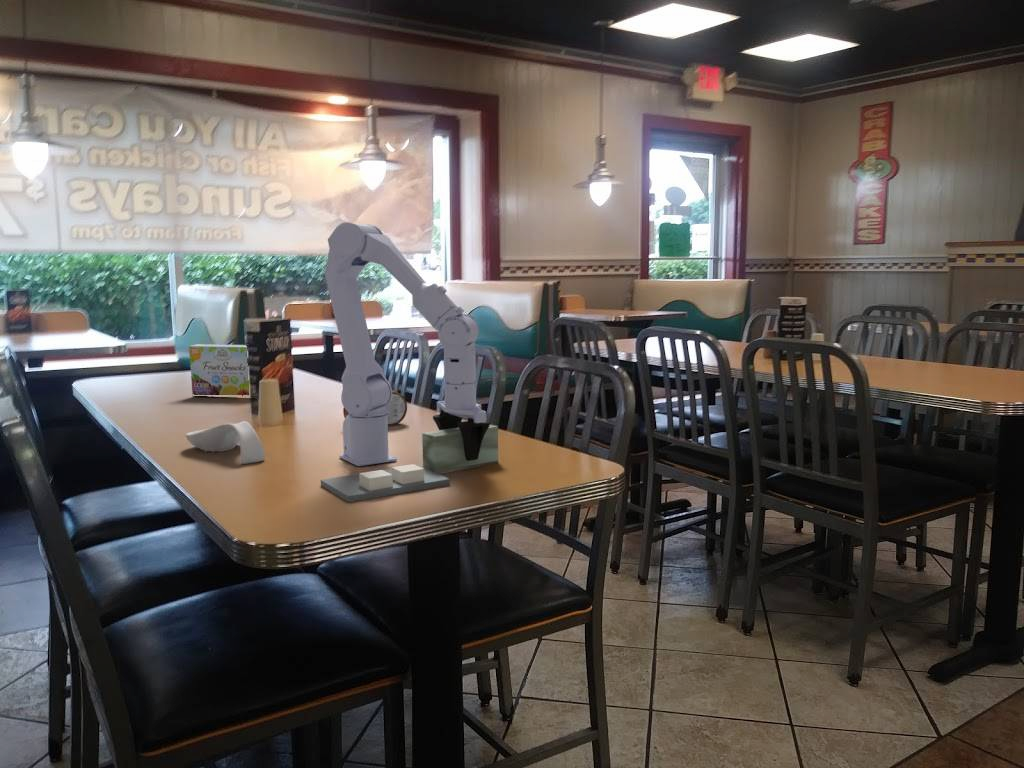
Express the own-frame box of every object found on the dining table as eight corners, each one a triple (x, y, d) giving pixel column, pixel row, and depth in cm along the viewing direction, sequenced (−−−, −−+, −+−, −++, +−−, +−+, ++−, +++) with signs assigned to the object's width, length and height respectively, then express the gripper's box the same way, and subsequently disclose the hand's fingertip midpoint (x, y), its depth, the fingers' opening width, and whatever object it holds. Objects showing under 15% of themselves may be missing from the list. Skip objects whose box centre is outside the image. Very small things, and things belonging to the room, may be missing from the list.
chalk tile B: (392, 479, 134) (391, 467, 133) (413, 475, 136) (413, 464, 135) (402, 484, 130) (402, 472, 130) (424, 480, 132) (424, 468, 132)
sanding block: (423, 471, 143) (422, 433, 142) (485, 459, 152) (485, 423, 151) (435, 475, 140) (434, 436, 139) (498, 463, 149) (497, 426, 148)
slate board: (320, 485, 134) (320, 479, 133) (417, 470, 143) (417, 464, 143) (348, 502, 124) (348, 496, 123) (450, 484, 134) (449, 478, 133)
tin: (403, 422, 189) (402, 387, 188) (409, 424, 187) (408, 388, 186) (343, 429, 181) (341, 392, 180) (348, 431, 179) (346, 394, 178)
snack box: (191, 397, 229) (187, 345, 227) (201, 394, 234) (198, 343, 232) (260, 399, 225) (257, 346, 223) (269, 396, 231) (266, 344, 229)
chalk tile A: (359, 485, 130) (359, 473, 130) (382, 481, 132) (381, 469, 132) (369, 490, 127) (369, 478, 126) (392, 486, 129) (392, 474, 128)
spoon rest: (177, 448, 163) (175, 414, 162) (233, 440, 171) (231, 407, 170) (225, 469, 146) (223, 431, 145) (284, 459, 154) (283, 422, 153)
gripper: (500, 385, 140) (501, 460, 142) (459, 376, 152) (460, 446, 154) (465, 388, 136) (467, 466, 138) (426, 379, 148) (427, 450, 150)
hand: (461, 455), depth 146 cm, fingers open, 7 cm apart
